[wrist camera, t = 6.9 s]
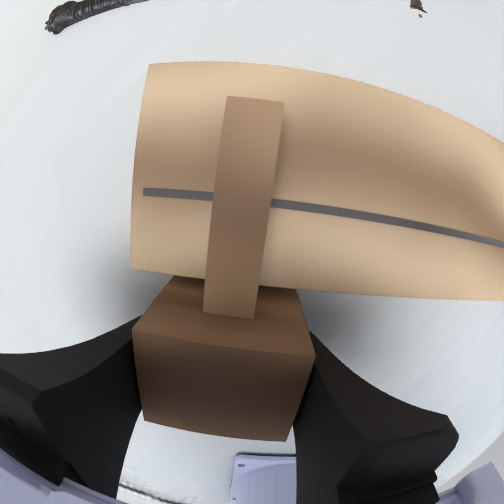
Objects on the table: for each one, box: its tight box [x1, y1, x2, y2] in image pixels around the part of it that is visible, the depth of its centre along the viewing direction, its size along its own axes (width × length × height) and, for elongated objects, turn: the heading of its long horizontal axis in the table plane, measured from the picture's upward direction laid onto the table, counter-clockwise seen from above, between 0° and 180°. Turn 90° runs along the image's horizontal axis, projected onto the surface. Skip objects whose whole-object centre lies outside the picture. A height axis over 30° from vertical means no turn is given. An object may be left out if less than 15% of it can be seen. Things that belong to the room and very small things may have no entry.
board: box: [131, 62, 504, 301], centre depth 10 cm, size 8×22×2 cm, turn 84°
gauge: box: [132, 96, 316, 442], centre depth 9 cm, size 10×5×5 cm, turn 173°
